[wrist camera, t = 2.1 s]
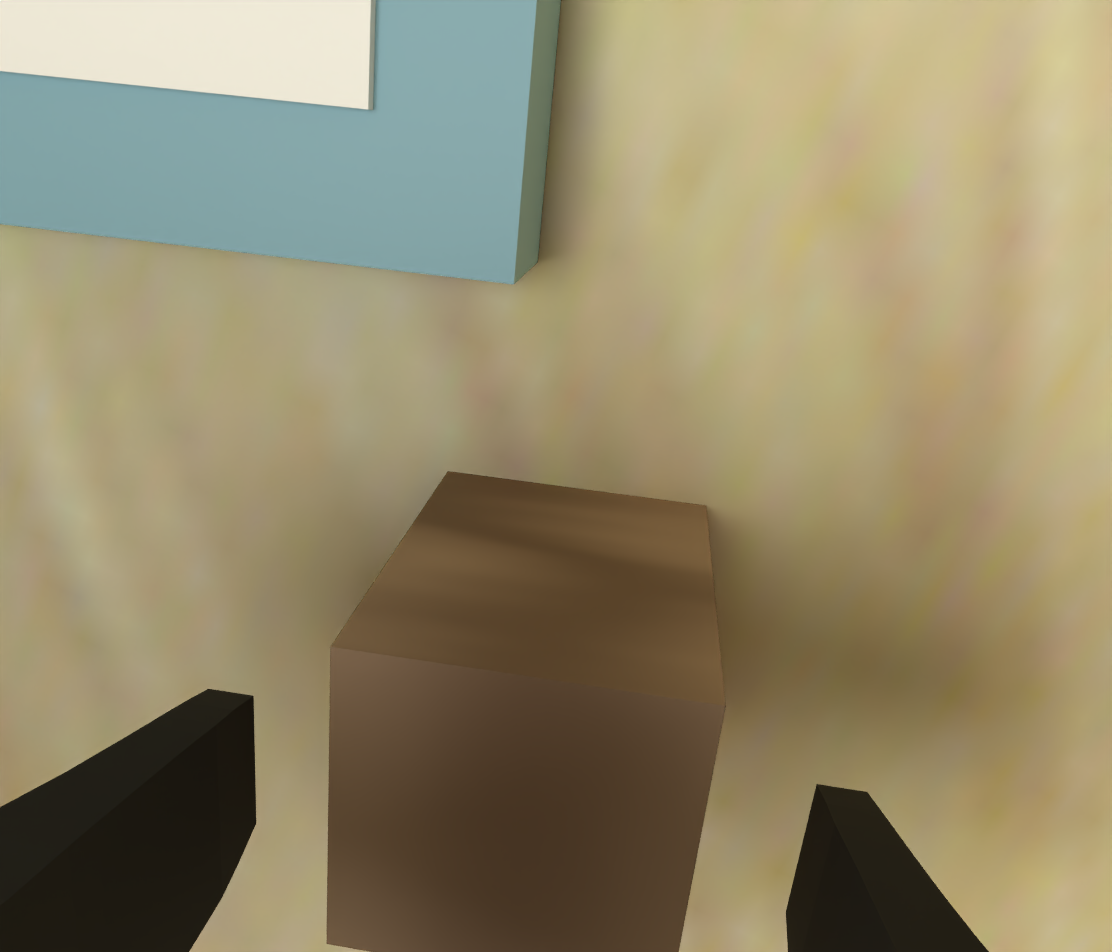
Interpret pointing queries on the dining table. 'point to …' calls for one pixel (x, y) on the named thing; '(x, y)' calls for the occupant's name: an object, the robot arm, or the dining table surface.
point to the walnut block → (525, 726)
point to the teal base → (285, 127)
